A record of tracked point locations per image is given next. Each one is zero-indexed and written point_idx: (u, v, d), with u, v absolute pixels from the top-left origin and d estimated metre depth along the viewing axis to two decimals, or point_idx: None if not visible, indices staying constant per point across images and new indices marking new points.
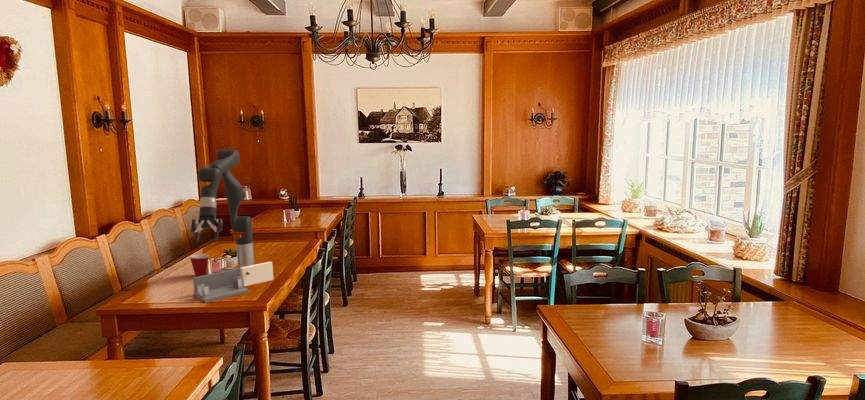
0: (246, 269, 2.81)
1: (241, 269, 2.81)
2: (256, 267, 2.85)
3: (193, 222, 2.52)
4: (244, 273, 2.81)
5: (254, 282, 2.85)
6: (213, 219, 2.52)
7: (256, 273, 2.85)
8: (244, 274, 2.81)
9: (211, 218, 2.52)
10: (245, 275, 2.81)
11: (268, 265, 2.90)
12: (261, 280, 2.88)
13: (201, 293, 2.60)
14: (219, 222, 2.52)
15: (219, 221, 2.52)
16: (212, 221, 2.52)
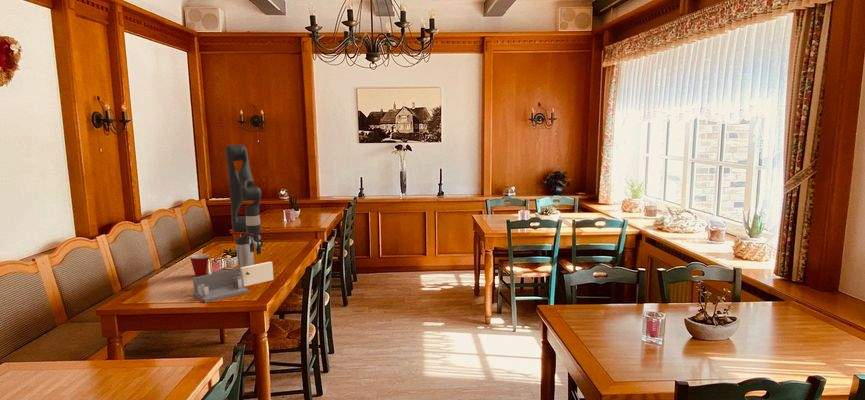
0: (246, 269, 2.81)
1: (241, 269, 2.81)
2: (256, 267, 2.85)
3: (247, 236, 2.88)
4: (244, 273, 2.81)
5: (254, 282, 2.85)
6: (254, 236, 2.81)
7: (256, 273, 2.85)
8: (244, 274, 2.81)
9: (254, 235, 2.82)
10: (245, 275, 2.81)
11: (268, 265, 2.90)
12: (261, 280, 2.88)
13: (201, 293, 2.60)
14: (257, 240, 2.79)
15: (257, 239, 2.79)
16: (254, 237, 2.82)
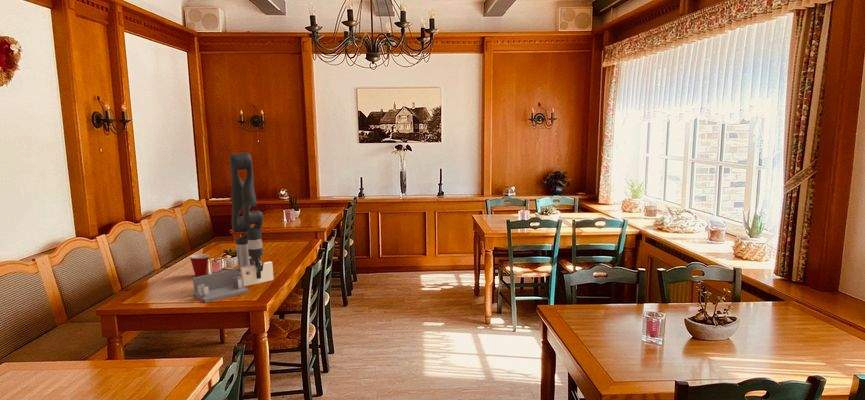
0: (246, 269, 2.81)
1: (241, 269, 2.81)
2: None
3: (250, 261, 2.90)
4: (244, 273, 2.81)
5: (254, 282, 2.85)
6: (257, 260, 2.83)
7: None
8: (244, 274, 2.81)
9: (256, 258, 2.83)
10: (245, 275, 2.81)
11: (268, 265, 2.90)
12: (261, 280, 2.88)
13: (201, 293, 2.60)
14: (258, 265, 2.82)
15: (258, 265, 2.82)
16: (256, 262, 2.84)
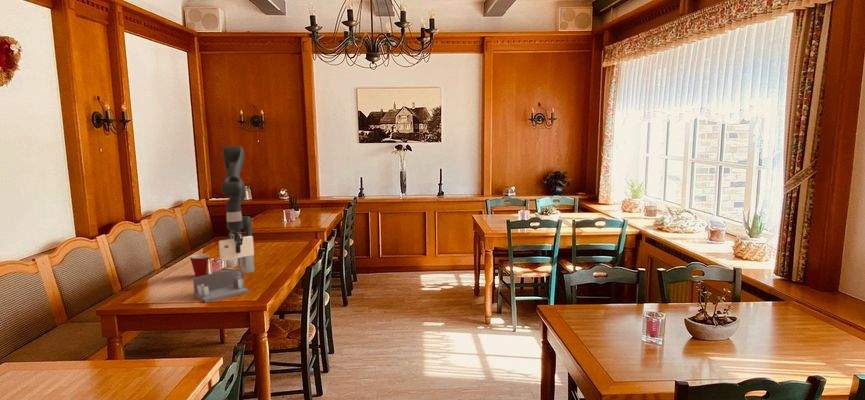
0: (225, 242, 2.69)
1: (219, 242, 2.68)
2: None
3: (229, 235, 2.77)
4: (223, 246, 2.68)
5: (233, 256, 2.72)
6: (236, 233, 2.70)
7: (235, 247, 2.73)
8: (223, 247, 2.68)
9: (235, 231, 2.71)
10: (224, 248, 2.68)
11: (248, 239, 2.77)
12: (241, 254, 2.75)
13: (201, 293, 2.60)
14: (237, 239, 2.69)
15: (238, 238, 2.69)
16: (235, 236, 2.71)
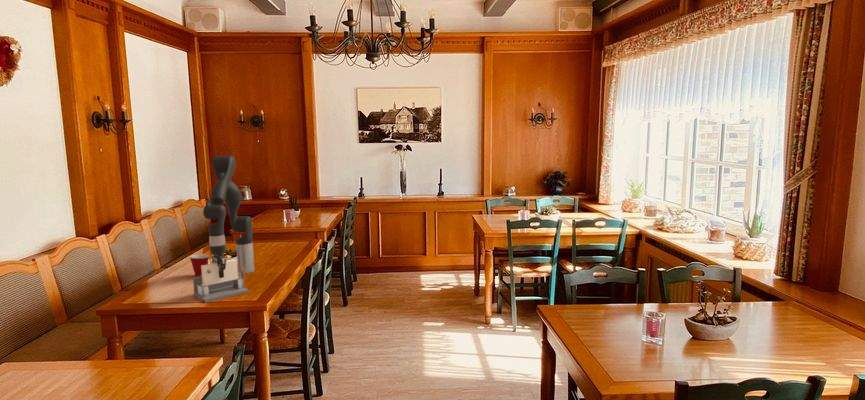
0: (207, 267, 2.61)
1: (202, 267, 2.61)
2: None
3: (212, 259, 2.70)
4: (205, 271, 2.61)
5: (216, 281, 2.65)
6: (219, 257, 2.63)
7: (218, 272, 2.65)
8: (205, 272, 2.61)
9: (218, 255, 2.63)
10: (206, 274, 2.61)
11: (232, 263, 2.70)
12: (224, 279, 2.68)
13: (201, 293, 2.60)
14: (220, 264, 2.62)
15: (220, 263, 2.62)
16: (218, 260, 2.64)
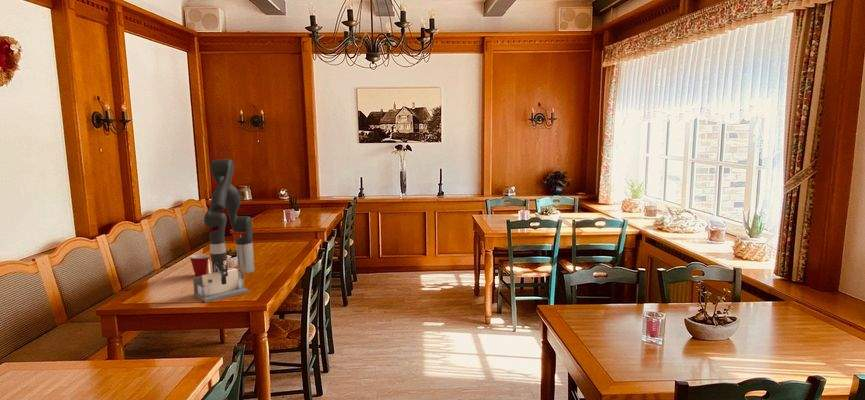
0: (208, 277, 2.62)
1: (203, 277, 2.62)
2: (220, 275, 2.66)
3: (212, 264, 2.71)
4: (206, 281, 2.62)
5: (217, 291, 2.66)
6: (219, 265, 2.63)
7: (219, 281, 2.66)
8: (206, 282, 2.62)
9: (218, 263, 2.64)
10: (207, 283, 2.62)
11: (233, 272, 2.71)
12: (225, 288, 2.69)
13: (201, 293, 2.60)
14: (221, 269, 2.61)
15: (221, 268, 2.61)
16: (219, 266, 2.64)
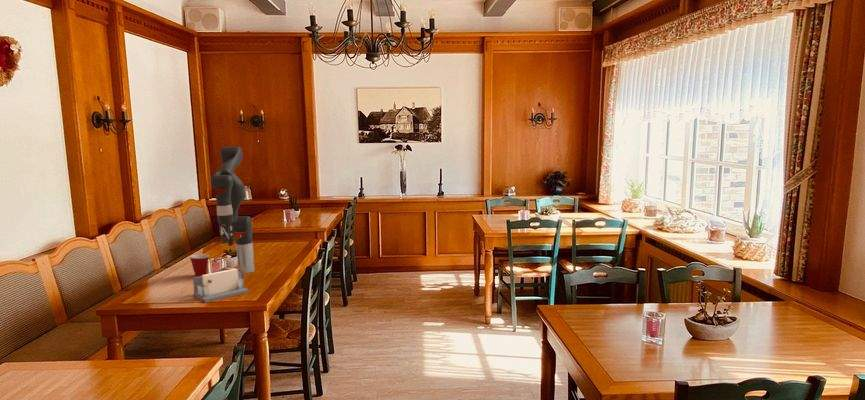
0: (208, 277, 2.62)
1: (203, 277, 2.62)
2: (220, 275, 2.66)
3: (219, 226, 2.74)
4: (206, 281, 2.62)
5: (217, 291, 2.66)
6: (226, 226, 2.67)
7: (219, 281, 2.66)
8: (206, 282, 2.62)
9: (225, 225, 2.67)
10: (207, 283, 2.62)
11: (233, 272, 2.71)
12: (225, 288, 2.69)
13: (201, 293, 2.60)
14: (228, 230, 2.65)
15: (228, 229, 2.65)
16: (226, 228, 2.67)
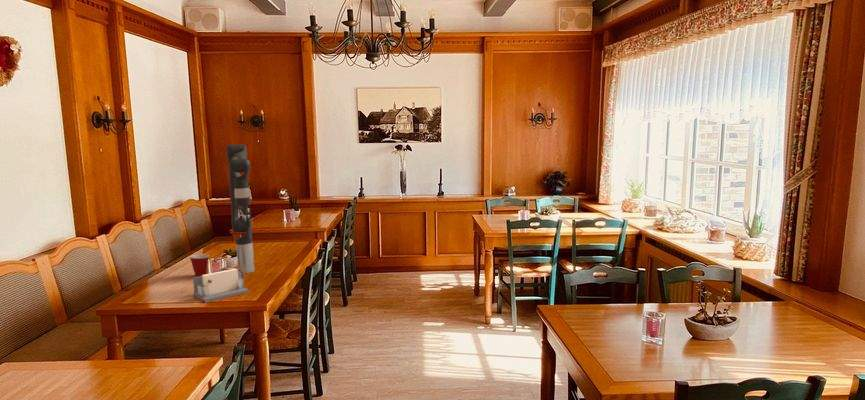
0: (208, 277, 2.62)
1: (203, 277, 2.62)
2: (220, 275, 2.66)
3: (236, 209, 2.83)
4: (206, 281, 2.62)
5: (217, 291, 2.66)
6: (243, 209, 2.76)
7: (219, 281, 2.66)
8: (206, 282, 2.62)
9: (242, 207, 2.76)
10: (207, 283, 2.62)
11: (233, 272, 2.71)
12: (225, 288, 2.69)
13: (201, 293, 2.60)
14: (246, 212, 2.74)
15: (246, 211, 2.74)
16: (243, 210, 2.76)
